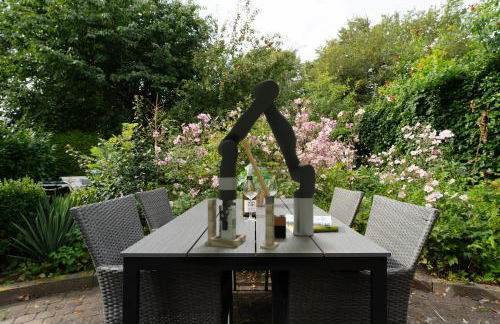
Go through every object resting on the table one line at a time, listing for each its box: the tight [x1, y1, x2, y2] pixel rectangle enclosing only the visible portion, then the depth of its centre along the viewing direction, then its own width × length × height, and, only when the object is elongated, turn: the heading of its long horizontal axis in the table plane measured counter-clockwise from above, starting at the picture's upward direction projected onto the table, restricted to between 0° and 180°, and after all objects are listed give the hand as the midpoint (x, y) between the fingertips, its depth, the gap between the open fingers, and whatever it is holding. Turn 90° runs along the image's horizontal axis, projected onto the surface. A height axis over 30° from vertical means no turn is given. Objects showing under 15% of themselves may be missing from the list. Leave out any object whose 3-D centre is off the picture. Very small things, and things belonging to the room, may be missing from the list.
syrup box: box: [218, 205, 237, 240], centre depth 131 cm, size 6×6×14 cm
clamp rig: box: [204, 194, 280, 250], centre depth 129 cm, size 12×30×20 cm, turn 73°
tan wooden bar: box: [241, 139, 271, 197], centre depth 128 cm, size 4×26×2 cm
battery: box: [274, 214, 287, 239], centre depth 142 cm, size 4×7×10 cm, turn 82°
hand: (227, 228), depth 131 cm, fingers open, 6 cm apart
